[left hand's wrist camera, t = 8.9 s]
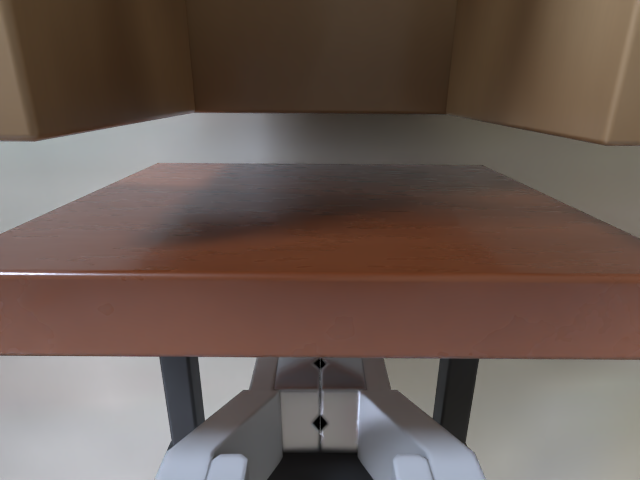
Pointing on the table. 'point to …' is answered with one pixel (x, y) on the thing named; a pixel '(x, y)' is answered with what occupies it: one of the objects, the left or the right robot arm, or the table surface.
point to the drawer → (320, 192)
